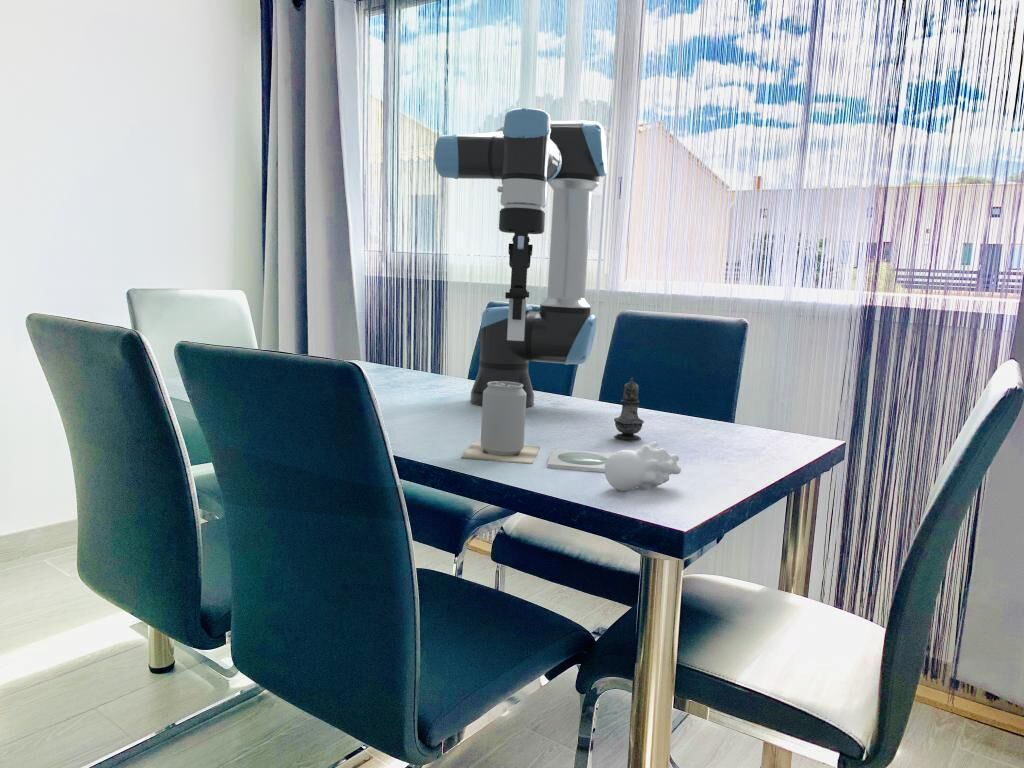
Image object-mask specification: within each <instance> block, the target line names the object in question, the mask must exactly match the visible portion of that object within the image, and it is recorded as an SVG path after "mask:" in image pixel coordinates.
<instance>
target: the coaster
mask: <svg viewBox="0 0 1024 768" xmlns="http://www.w3.org/2000/svg"><path fill="white" fill-rule="evenodd" d="M612 454H613V453H611V452H599V451H586V450H585V451H584V450H573V449H563V448H562V449H561V448H560V449H559V448H552V449H551V452H550V456H549V458H548V462H547V466H546V467H547V468H549V469H560V470H561V469H562V470H572V471H574V470H575V471H583V472H584V471H585V472H586V471H587V472H596V473H597V472H598V473H605V472H604V468H605V463H606V461H607V459H608V458H609V457H610V456H611V455H612Z"/></svg>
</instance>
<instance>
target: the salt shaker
mask: <svg viewBox="0 0 1024 768" xmlns="http://www.w3.org/2000/svg"><path fill="white" fill-rule="evenodd" d="M639 387H640V386H639V385H638V383H636V382H635V381H634V378H633V377H631V378H630V380H629V382H627V383H625V384H624V386H623V397H622V399H621V400H620V401H621V402H622V406H621V413H620V415H619V416H618V417H614V418H613V421H614V422H615V423H614V425H615V428H616V430H617V431H618V432H620V433H617V434H616V435H614V436H613V438H614V439H616V440H619V441H623V442H639V441H641V440H642V438H641V437H640V436H639V435H638V433H639V432H640V431H641V430H642V428H643V424H644V423H645V421H644V420H643V419H641V418H640V417H639V414H638V409H639V408H638V407H639V404H640V403H641V402H640V400H639V389H640V388H639Z"/></svg>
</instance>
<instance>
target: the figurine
mask: <svg viewBox="0 0 1024 768" xmlns="http://www.w3.org/2000/svg"><path fill="white" fill-rule="evenodd" d="M679 459H680V456H679V455H678V454H677V453H673V454H670V453H669V452H668V451H667V450H666V449H665V448H659V443H658V442H656V441H651V442H649V443H647V444H643V445H640V446H639V447H638V448H637V449H636V450H629V449H622V450H617V451H615V452H614V453H613V454H612V455H611V456H610V457H609V458H608V459H607V461H606V463H605V468H604V472H603V473H604V476H605V478H606V481H607V483H608V484H609V485H610V486H611V487H612V488H613V489H615V490H617V491H622V492H629V491H633V490H635V489H639V490H642V491H648V490H649V489H651V487H653V488H654V487H658V486H662V485H663V484H665V483H667V482H668V481H670V475H679V474H680V473H681V472H682V469H681V467H680V466H679V465H677V462H678V461H679Z"/></svg>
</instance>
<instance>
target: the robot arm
mask: <svg viewBox="0 0 1024 768" xmlns="http://www.w3.org/2000/svg"><path fill="white" fill-rule="evenodd" d="M503 123H504V124H503V126H501V127H500V128H498V129H497V130H495V131H494V132H493V131H492V132H483V133H472V134H457V133H453V134H442V135H440V136H439V137H438V139H437V140H436V142H435V144H434V145H435V146H434V165H435V169H436V172H437V174H438V175H439V176H440V177H442V178H444V179H445V178H447V179H455V180H458V179H462V180H463V179H469V180H471V179H476V180H477V179H482V180H483V179H485V180H487V179H488V180H489V179H490V180H501V185H502V186H498V187H497V188H496V191H497V193H501V194H500V202H499V203H500V204H501V206H503V207H502V208H500V210H499V218H498V220H499V222H498V230H499V231H500V232H502V233H507V234H514V235H513V236H512V239H511V240H512V243H508V248H507V249H508V256H509V258H508V259H509V260H508V261H509V262H508V264H509V265H508V266H509V267H510V268H511V275H510V288H509V291H508V292H507V291H506V292H505V294H504V295H505V300H506V299H508V305H506V306H494V307H487V308H485V309H484V310H483V312H482V314H481V324H480V328H479V329H480V341H479V366H478V372H477V375H476V377H475V380H474V382H473V383H474V384H473V385H472V389H471V391H470V402H471V403H472V404H474V405H477V406H481V407H482V403H483V391H484V390H485V389H486V388H487V387H488V385H487V383H488V382H493V381H508V382H516V383H521V384H523V387H522V388H523V390H524V391H525V392H526V393H527V395H526V408H528V407H532V406H534V404H535V393H534V390H533V389H534V388H533V385H532V382H531V378H530V377H531V376H530V374H529V365H530V363H529V362H537V363H538V362H540V363H552V364H564V365H566V366H568V365H582V364H585V363H586V362H587V361H588V360H589V357H590V355H591V351H592V348H593V345H594V340H595V334H596V329H597V320H598V319H597V315H595V314H594V313H591V305H590V304H589V303H588V301H587V300H586V281H587V267H588V265H587V264H588V253H589V251H588V250H589V239H590V238H589V235H590V220H591V218H590V217H591V205H592V204H591V203H592V193H593V191H594V190H595V189H596V188H597V187H598V186H599V185H600V177H601V178H602V177H603V178H604V177H605V176H606V175H607V173H608V167H607V166H608V156H607V155H608V154H607V144H606V135H605V131H604V127H603V125H602V124H601V123H600V122H598V121H591V120H583V119H580V120H551V116H550V114H549V113H548V112H546V111H545V110H542V109H538V108H530V107H529V108H528V107H522V108H521V107H520V108H513V109H510V110H508V111H507V112H506V114H505V116H504V122H503ZM548 186H550V188H551V189H552V190H553V191H552V192H553V195H552V212H551V213H552V214H551V227H550V228H551V230H550V244H549V245H550V246H549V261H548V262H549V264H548V275H547V276H548V277H547V278H548V279H547V292H546V293H547V296H546V298H545V299H544V300H543V301H542V302H541V303H540V304H539V305H540V306H539V311H536V310H535V311H533V307H532V305H531V304H527V299H526V298H528V299H529V298H530V291H528V290H527V282H528V281H527V279H528V269H529V268H530V267H531V257H532V256H533V247H534V246H533V244H529V243H530V236H529V235H541V234H544V232H545V221H546V212H545V211H544V210H543V209H544V208H546V207H547V197H548V195H547V193H548Z"/></svg>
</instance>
